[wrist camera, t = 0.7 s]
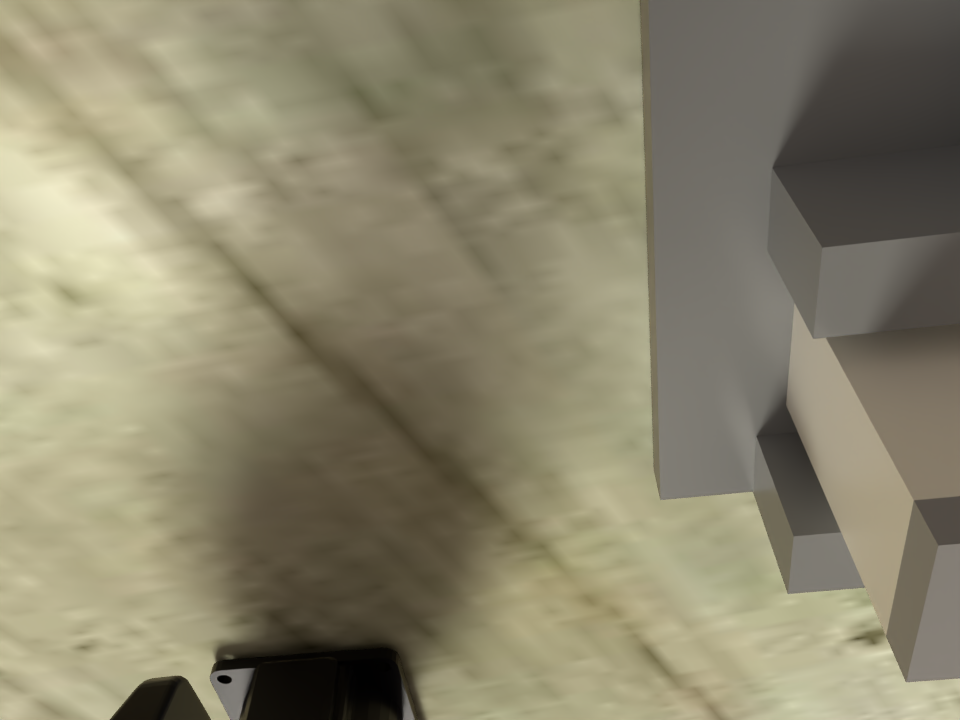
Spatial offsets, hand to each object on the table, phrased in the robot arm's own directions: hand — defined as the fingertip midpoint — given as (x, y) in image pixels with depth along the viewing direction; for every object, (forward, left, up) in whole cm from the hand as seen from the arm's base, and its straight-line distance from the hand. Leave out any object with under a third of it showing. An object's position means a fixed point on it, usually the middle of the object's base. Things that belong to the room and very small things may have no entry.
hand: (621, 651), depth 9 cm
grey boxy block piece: (-6, -7, -12) cm, 15 cm away
